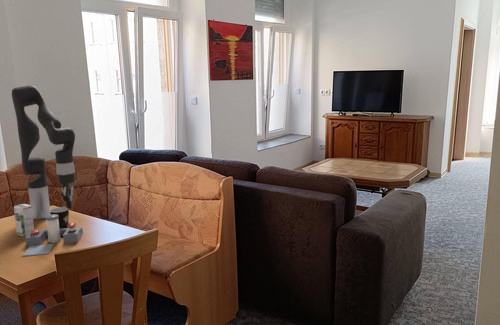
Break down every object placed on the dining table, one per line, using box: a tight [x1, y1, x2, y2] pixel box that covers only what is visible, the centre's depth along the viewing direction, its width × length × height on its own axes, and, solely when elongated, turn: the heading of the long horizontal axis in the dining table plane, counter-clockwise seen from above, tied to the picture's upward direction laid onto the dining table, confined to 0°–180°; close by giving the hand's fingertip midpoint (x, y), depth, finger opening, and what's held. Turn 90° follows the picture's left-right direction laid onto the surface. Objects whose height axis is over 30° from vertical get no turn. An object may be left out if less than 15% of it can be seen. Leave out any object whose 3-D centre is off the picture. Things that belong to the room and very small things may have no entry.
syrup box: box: [13, 203, 35, 238], centre depth 190 cm, size 6×6×14 cm
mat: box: [22, 243, 55, 257], centre depth 173 cm, size 10×10×1 cm
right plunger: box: [67, 222, 77, 233], centre depth 184 cm, size 4×4×4 cm
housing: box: [24, 226, 84, 247], centre depth 184 cm, size 12×22×4 cm, turn 102°
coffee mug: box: [50, 206, 70, 229], centre depth 196 cm, size 12×9×10 cm
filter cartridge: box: [44, 214, 62, 244], centre depth 182 cm, size 5×5×12 cm
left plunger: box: [30, 228, 40, 236], centre depth 181 cm, size 4×4×4 cm
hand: (69, 208), depth 181 cm, fingers closed
